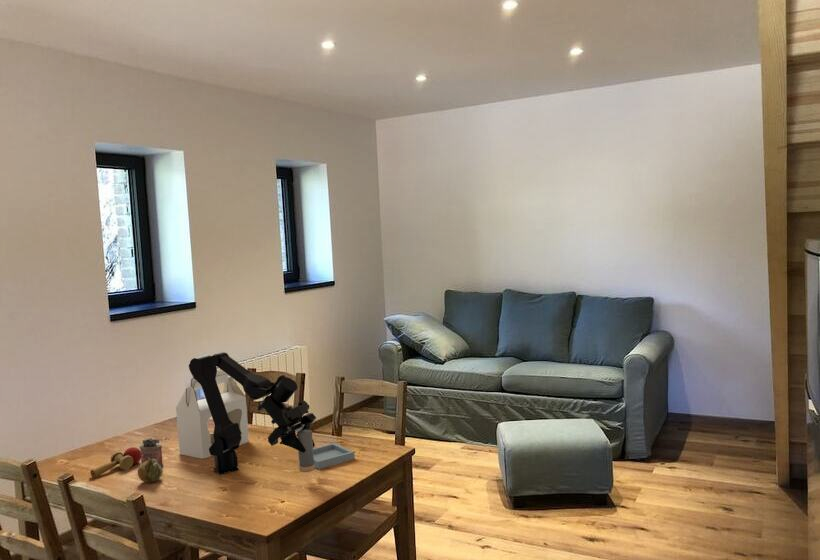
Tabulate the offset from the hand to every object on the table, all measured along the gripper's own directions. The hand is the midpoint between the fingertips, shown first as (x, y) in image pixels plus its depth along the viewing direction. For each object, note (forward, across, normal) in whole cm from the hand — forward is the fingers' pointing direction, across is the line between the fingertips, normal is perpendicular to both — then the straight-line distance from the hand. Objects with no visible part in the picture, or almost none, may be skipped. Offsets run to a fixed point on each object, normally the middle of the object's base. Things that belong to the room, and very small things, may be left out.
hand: (309, 449), depth 208 cm
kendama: (-44, -12, +60) cm, 75 cm away
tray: (+2, +20, +13) cm, 24 cm away
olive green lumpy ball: (-29, -16, +45) cm, 56 cm away
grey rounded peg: (+4, 0, +6) cm, 7 cm away
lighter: (-36, -6, +52) cm, 64 cm away
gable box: (-32, +18, +48) cm, 60 cm away
